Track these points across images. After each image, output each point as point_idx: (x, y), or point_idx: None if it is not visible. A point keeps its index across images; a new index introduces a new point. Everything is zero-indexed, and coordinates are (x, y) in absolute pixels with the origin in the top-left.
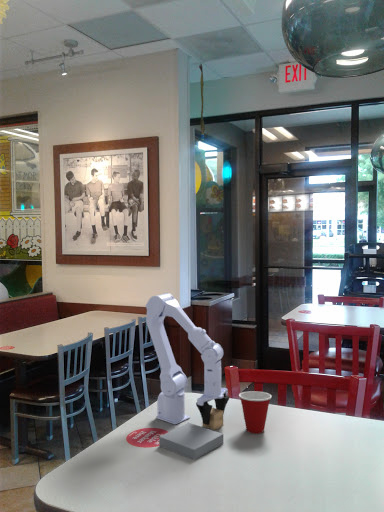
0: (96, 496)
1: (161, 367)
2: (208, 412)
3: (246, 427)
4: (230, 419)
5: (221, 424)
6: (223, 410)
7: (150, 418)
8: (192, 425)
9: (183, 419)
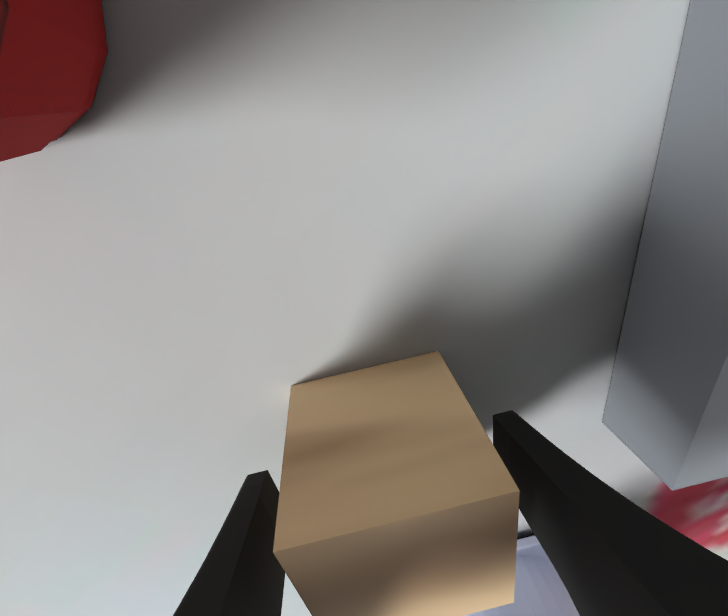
0: None
1: None
2: (708, 560)
3: (84, 38)
4: (138, 446)
5: (321, 389)
6: (226, 565)
7: None
8: (725, 433)
9: None
